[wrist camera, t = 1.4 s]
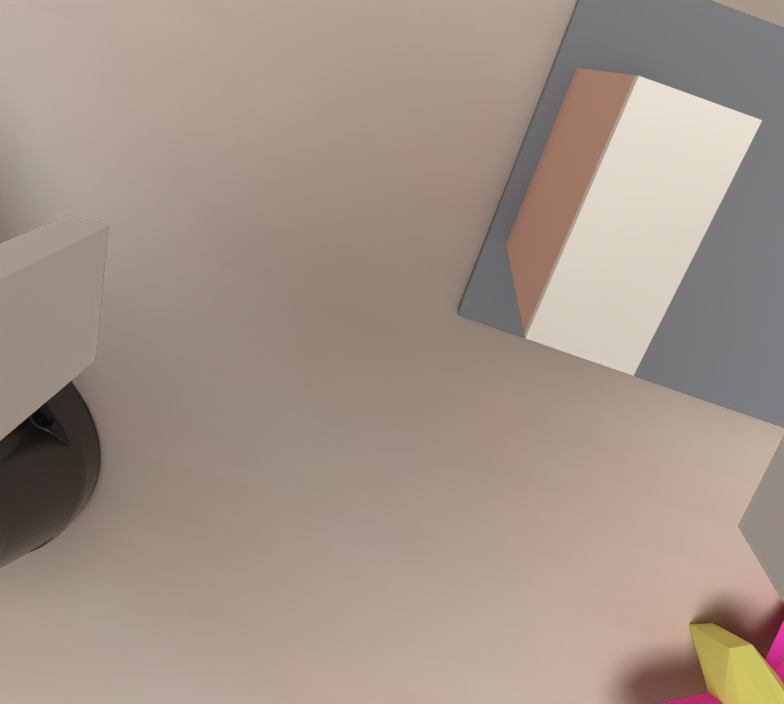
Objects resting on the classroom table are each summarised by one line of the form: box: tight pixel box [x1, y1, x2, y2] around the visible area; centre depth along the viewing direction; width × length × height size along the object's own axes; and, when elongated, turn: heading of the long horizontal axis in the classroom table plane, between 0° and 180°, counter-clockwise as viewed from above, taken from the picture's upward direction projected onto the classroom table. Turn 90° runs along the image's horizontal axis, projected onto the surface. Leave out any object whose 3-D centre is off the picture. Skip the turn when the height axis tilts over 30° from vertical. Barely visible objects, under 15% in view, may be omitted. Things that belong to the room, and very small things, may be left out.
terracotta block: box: [506, 68, 762, 376], centre depth 31 cm, size 4×9×14 cm, turn 162°
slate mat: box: [458, 0, 784, 428], centre depth 38 cm, size 22×18×1 cm
